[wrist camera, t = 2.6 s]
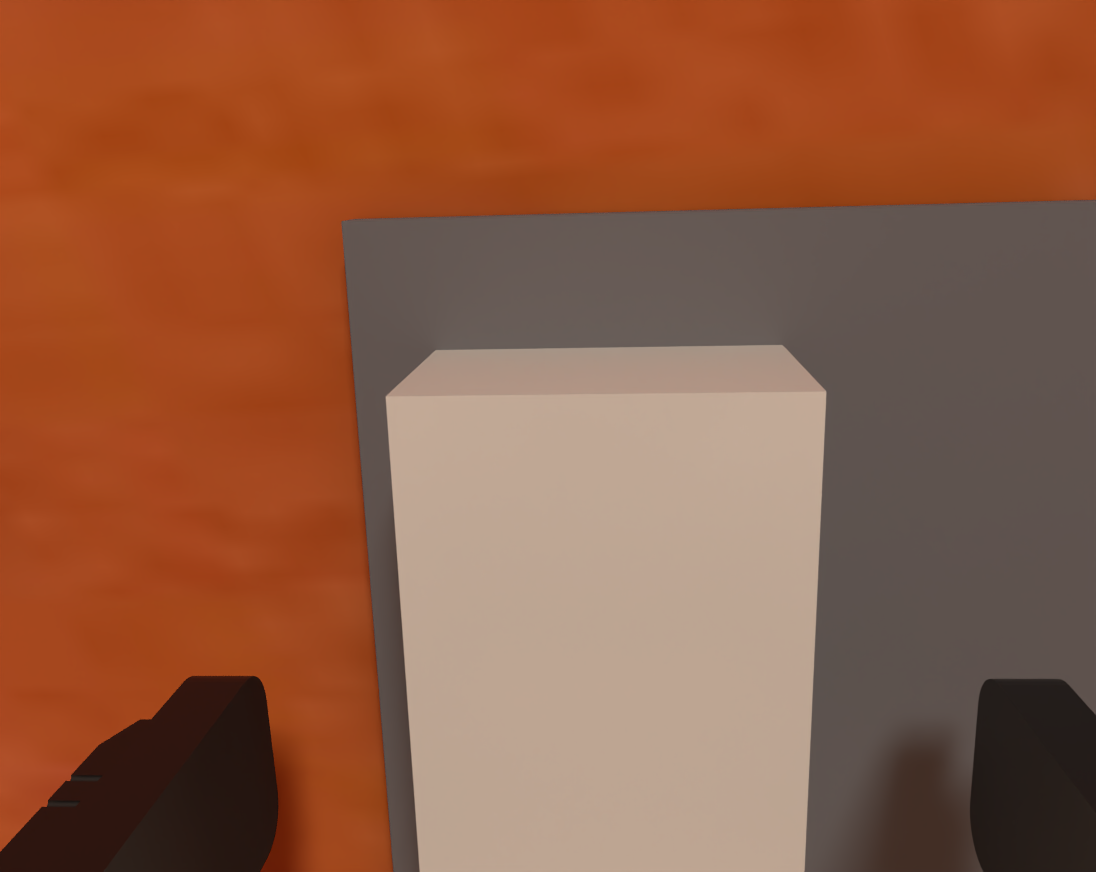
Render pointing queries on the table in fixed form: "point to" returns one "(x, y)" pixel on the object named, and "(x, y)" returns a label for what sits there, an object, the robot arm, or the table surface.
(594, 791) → the tile
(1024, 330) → the mat
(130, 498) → the table surface
